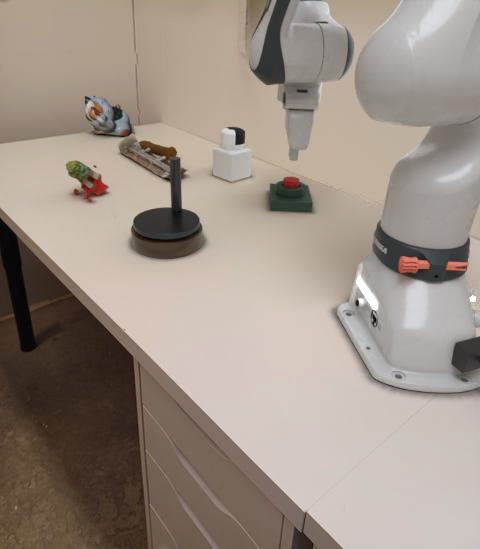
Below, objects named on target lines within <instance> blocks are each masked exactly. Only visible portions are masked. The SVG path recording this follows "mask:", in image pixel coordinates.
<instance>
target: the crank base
mask: <svg viewBox="0 0 480 549" xmlns="http://www.w3.org/2000/svg"><path fill="white" fill-rule="evenodd" d="M203 228H204V227H203V225H202V223H201V222H200V226H199V229H198V230H197V231H196V232H194V233H193V234H191V235H188V236H186V237H182V238H177V239H153V238H148V237H145V236H142V235H140V234H138V233H137V232H136V231H135V230H134V227H133V224H132V225H131V228H130V235H131V246H132V248H133V250H135V252H136V253H138V254H140V255H142V256H145V257H149V258H152V259H153V258H154V259H161V260H162V259H163V260H164V259H165V260H167V259H168V260H169V259H177V258H182V257H187V256H189V255H192V254H194V253H196V252H197V251H199V250H200V249H201V248H202V246H203V241H204V240H203V239H204V238H203V236H204V235H203V234H204V232H203Z"/></svg>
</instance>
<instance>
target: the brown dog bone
mask: <svg viewBox="0 0 480 549" xmlns="http://www.w3.org/2000/svg"><path fill="white" fill-rule="evenodd" d="M138 142H139V144H140V146H141V148H142V149H144V150H145V149H147V148H150V150H151V152H152V153H153V154H154V153H155V154H158V155H161V156H165V157H166V159H167V160H169V158H170V157H177V155H178V151H177V149H176V148H175V147H174V146H169V147H168V146H163V145H160V144H156V143H153V142H152V141H150V140H145V139H144V140H141V141H138Z"/></svg>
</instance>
